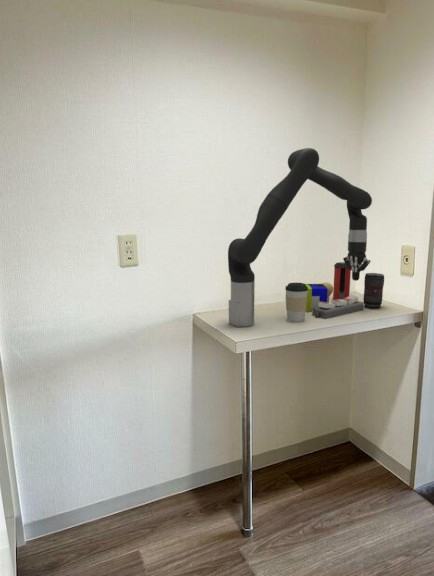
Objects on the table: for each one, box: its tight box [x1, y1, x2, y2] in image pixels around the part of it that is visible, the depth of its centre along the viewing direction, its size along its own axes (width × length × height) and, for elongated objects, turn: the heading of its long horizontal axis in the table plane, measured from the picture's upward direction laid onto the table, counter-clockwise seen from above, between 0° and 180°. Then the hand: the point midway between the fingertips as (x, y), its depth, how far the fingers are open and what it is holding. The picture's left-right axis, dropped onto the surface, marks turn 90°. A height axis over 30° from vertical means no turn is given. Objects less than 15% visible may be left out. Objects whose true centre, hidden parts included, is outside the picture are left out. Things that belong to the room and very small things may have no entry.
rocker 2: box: [330, 298, 347, 306], centre depth 180 cm, size 6×4×2 cm, turn 124°
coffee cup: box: [284, 282, 308, 323], centre depth 170 cm, size 9×9×15 cm
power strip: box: [311, 300, 364, 320], centre depth 180 cm, size 26×7×3 cm, turn 124°
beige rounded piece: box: [321, 282, 334, 303], centre depth 193 cm, size 6×6×10 cm
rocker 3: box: [343, 295, 359, 305], centre depth 184 cm, size 6×4×2 cm, turn 123°
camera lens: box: [363, 272, 385, 310], centre depth 187 cm, size 8×8×15 cm
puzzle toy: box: [305, 283, 328, 312], centre depth 187 cm, size 10×10×10 cm
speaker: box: [332, 261, 352, 300], centre depth 198 cm, size 8×8×18 cm
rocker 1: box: [318, 301, 335, 308], centre depth 176 cm, size 6×4×2 cm, turn 124°
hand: (355, 280), depth 183 cm, fingers closed
